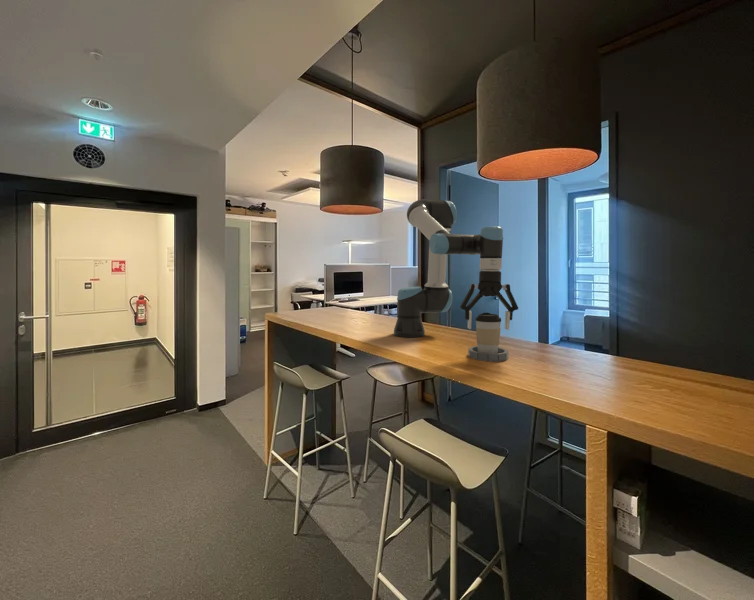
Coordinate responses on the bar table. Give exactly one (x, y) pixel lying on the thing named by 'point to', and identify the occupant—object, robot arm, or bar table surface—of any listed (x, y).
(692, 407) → the bar table surface
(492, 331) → the coffee cup
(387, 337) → the bar table surface
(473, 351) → the tray
